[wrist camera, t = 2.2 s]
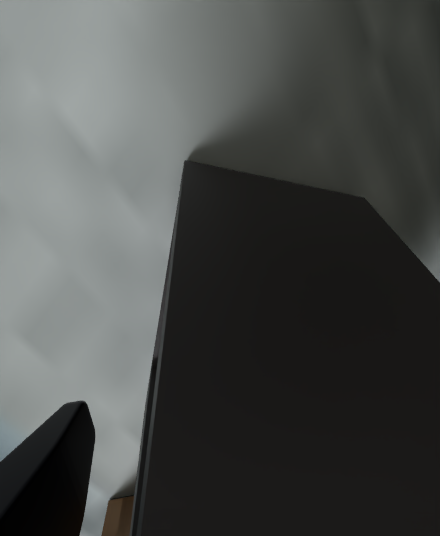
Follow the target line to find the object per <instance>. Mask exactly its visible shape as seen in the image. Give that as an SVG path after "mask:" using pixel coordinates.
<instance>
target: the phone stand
mask: <svg viewBox="0 0 440 536" xmlns="http://www.w3.org/2000/svg"><path fill="white" fill-rule="evenodd" d="M129 536H440V282H439V281H438V280H437V279H436V278H435V277H434V276H433V275H432V273H431V272H430V271H429V270H428V269H427V268H426V267H425V266H424V264H423V263H422V262H421V261H420V260H419V259H418V258H417V257H416V255H415V254H414V253H413V252H412V251H411V250H410V249H409V248H408V246H407V245H406V244H405V243H404V242H403V241H402V240H401V239H400V238H399V236H398V235H397V234H396V233H395V232H394V231H393V230H392V229H391V227H390V226H389V225H388V224H387V223H386V222H385V221H384V220H383V218H382V217H381V216H380V215H379V214H378V213H377V212H376V211H375V209H374V208H373V207H372V206H371V205H370V204H369V203H368V202H367V200H366V199H365V198H362V197H357V196H352V195H347V194H343V193H338V192H333V191H328V190H324V189H319V188H314V187H310V186H305V185H300V184H295V183H291V182H286V181H281V180H276V179H272V178H267V177H262V176H257V175H253V174H248V173H243V172H238V171H234V170H229V169H224V168H219V167H215V166H210V165H205V164H200V163H196V162H191V161H186V160H185V161H184V167H183V173H182V179H181V185H180V191H179V198H178V204H177V210H176V216H175V223H174V229H173V235H172V241H171V248H170V254H169V260H168V266H167V273H166V279H165V285H164V292H163V298H162V304H161V310H160V316H159V322H158V329H157V335H156V341H155V347H154V354H153V360H152V366H151V372H150V379H149V385H148V391H147V398H146V405H145V413H144V421H143V429H142V437H141V445H140V453H139V462H138V470H137V478H136V486H135V494H134V502H133V511H132V519H131V527H130V535H129Z"/></svg>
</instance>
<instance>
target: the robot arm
mask: <svg viewBox="0 0 440 536" xmlns="http://www.w3.org/2000/svg"><path fill="white" fill-rule="evenodd" d="M94 444H95V429H94V425H93V422H92V418H91V415H90V412H89V408H88V405H87V404H86V402H85V401H76V402H70V403H66V404H64V405H63V406H62V407H61V408H60V409H59V410H57V411H56V412H55V413H54V414H53V415H52V416H51V417H50V418H49V419H47V420H46V421H45V422H44V423H43V424H42V425H41V426H40V427H39V428H37V429H36V430H35V431H34V432H33V433H32V434H31V435H30V436H29V437H28V438H26V439H25V440H24V441H23V442H22V443H21V444H20V445H19V446H18V447H16V448H15V449H14V450H13V451H12V452H11V453H10V454H9V455H8V456H6V457H5V458H4V459H3V460H2V461H1V462H0V536H79V535H80V531H81V526H82V522H83V517H84V512H85V506H86V500H87V493H88V486H89V479H90V472H91V465H92V458H93V451H94Z"/></svg>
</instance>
